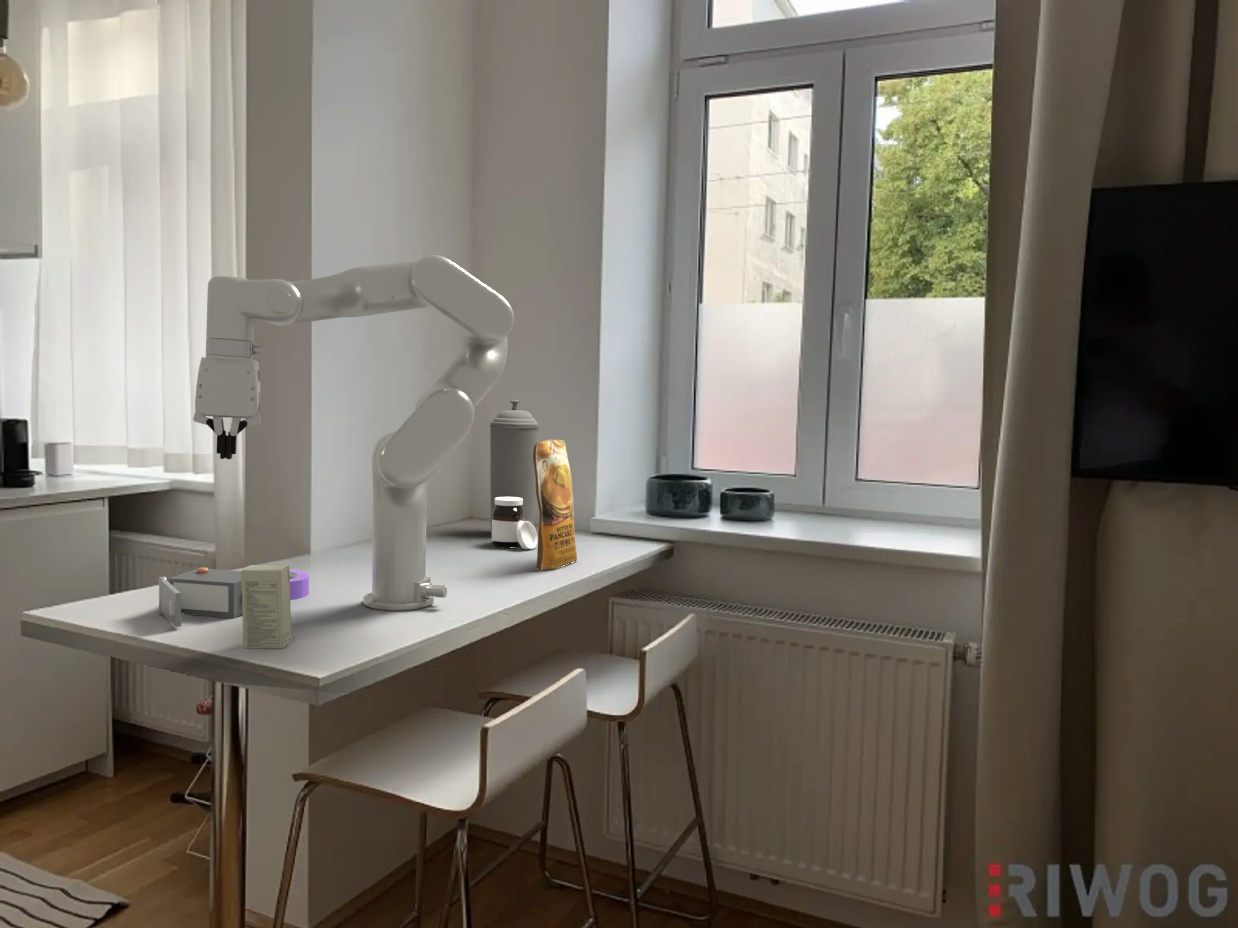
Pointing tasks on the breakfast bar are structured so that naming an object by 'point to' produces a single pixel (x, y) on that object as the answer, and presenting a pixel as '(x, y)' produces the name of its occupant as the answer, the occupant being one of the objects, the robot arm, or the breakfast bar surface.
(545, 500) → the pancake mix bag
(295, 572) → the masking tape
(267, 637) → the skincare box
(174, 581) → the toy microwave oven
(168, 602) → the side door
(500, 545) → the spread jar
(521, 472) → the canister
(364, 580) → the breakfast bar surface
